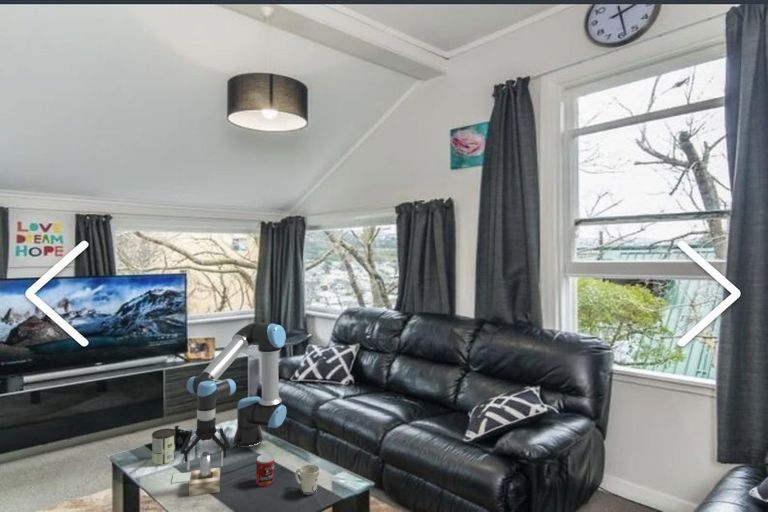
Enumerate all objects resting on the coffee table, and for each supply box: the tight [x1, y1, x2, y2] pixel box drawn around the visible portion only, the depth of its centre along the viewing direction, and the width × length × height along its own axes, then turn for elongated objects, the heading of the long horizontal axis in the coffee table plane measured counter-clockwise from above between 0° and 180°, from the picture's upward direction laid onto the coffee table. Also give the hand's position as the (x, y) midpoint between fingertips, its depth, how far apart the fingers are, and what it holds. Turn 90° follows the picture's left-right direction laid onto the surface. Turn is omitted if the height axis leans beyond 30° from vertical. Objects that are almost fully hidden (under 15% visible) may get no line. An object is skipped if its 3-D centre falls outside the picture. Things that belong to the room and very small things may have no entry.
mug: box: [294, 464, 320, 492], centre depth 201 cm, size 8×13×10 cm, turn 58°
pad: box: [171, 471, 191, 485], centre depth 210 cm, size 8×8×1 cm
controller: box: [173, 425, 193, 448], centre depth 243 cm, size 4×12×10 cm, turn 77°
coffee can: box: [151, 427, 176, 467], centre depth 225 cm, size 10×10×14 cm
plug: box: [199, 450, 212, 479], centre depth 202 cm, size 4×4×15 cm
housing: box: [188, 467, 221, 497], centre depth 202 cm, size 12×12×5 cm
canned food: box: [255, 453, 275, 487], centre depth 208 cm, size 8×8×11 cm
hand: (205, 466), depth 202 cm, fingers open, 13 cm apart
